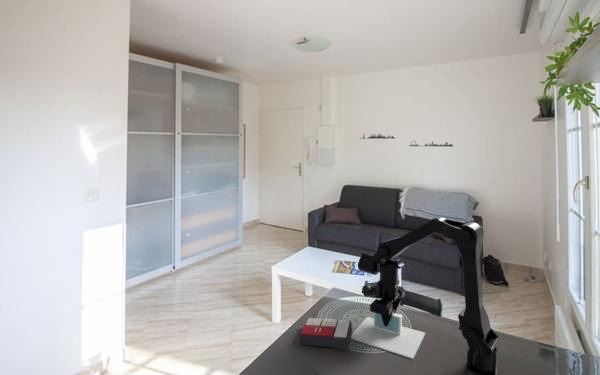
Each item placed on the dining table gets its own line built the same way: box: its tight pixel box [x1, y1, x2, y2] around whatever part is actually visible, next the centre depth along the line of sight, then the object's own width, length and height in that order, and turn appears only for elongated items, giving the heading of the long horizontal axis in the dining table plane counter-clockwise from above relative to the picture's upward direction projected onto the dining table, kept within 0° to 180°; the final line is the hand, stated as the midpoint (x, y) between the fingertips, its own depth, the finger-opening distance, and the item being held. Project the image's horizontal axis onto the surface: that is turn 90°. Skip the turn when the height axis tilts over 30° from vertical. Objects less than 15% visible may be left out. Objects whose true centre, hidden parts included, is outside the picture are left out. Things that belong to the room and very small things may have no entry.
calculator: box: [299, 317, 353, 351], centre depth 103 cm, size 11×4×15 cm
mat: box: [350, 316, 426, 360], centre depth 104 cm, size 20×16×1 cm
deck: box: [373, 312, 403, 335], centre depth 107 cm, size 9×2×6 cm, turn 57°
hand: (387, 323), depth 107 cm, fingers open, 4 cm apart
